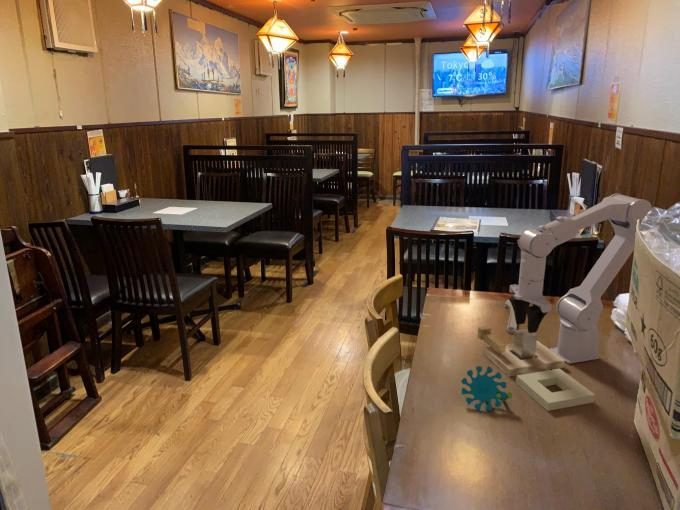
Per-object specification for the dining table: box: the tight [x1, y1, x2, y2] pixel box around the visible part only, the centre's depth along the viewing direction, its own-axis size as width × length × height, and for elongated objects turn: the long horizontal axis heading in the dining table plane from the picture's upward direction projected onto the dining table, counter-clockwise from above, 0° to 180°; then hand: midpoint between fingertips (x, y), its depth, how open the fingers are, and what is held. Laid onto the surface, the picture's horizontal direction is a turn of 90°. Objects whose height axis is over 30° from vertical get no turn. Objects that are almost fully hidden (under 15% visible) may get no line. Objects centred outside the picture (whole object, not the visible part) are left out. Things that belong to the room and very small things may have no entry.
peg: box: [512, 328, 538, 360], centre depth 130 cm, size 4×4×8 cm
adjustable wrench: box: [503, 299, 518, 335], centre depth 159 cm, size 25×6×2 cm, turn 154°
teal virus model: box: [460, 365, 513, 412], centre depth 114 cm, size 11×6×10 cm
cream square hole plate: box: [515, 368, 596, 412], centre depth 117 cm, size 12×12×2 cm
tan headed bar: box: [477, 325, 506, 353], centre depth 133 cm, size 3×10×3 cm, turn 15°
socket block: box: [483, 340, 566, 377], centre depth 131 cm, size 16×12×2 cm
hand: (526, 327), depth 129 cm, fingers open, 5 cm apart
